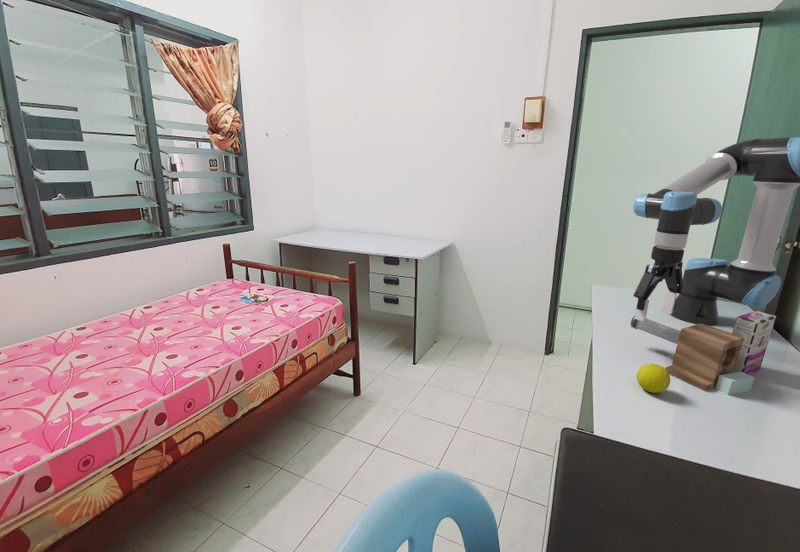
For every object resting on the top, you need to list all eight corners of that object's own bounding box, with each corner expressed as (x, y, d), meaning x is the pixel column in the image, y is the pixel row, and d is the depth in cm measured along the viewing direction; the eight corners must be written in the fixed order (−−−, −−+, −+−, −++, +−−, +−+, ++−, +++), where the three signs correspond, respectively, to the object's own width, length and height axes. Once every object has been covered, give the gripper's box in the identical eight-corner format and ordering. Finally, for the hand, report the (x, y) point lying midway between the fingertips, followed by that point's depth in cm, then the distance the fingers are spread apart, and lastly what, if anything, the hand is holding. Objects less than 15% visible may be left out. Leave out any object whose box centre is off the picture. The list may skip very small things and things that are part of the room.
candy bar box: (739, 361, 114) (755, 310, 110) (760, 369, 110) (778, 316, 105) (720, 369, 109) (736, 315, 105) (741, 378, 105) (759, 322, 100)
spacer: (741, 371, 101) (754, 377, 98) (737, 385, 102) (749, 391, 99) (719, 375, 98) (731, 381, 96) (715, 388, 99) (727, 395, 97)
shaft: (638, 326, 122) (641, 313, 121) (714, 356, 104) (719, 341, 103) (629, 328, 120) (632, 315, 119) (705, 359, 102) (710, 344, 101)
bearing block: (696, 361, 114) (707, 321, 110) (736, 377, 105) (750, 335, 102) (664, 372, 106) (674, 330, 103) (704, 390, 98) (718, 346, 94)
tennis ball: (631, 390, 97) (637, 365, 95) (637, 379, 102) (642, 355, 100) (664, 401, 93) (671, 376, 91) (668, 389, 98) (675, 365, 96)
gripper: (680, 241, 118) (665, 305, 125) (628, 248, 108) (615, 318, 114) (707, 246, 112) (690, 313, 118) (655, 253, 101) (640, 327, 107)
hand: (653, 316), depth 116 cm, fingers open, 13 cm apart
